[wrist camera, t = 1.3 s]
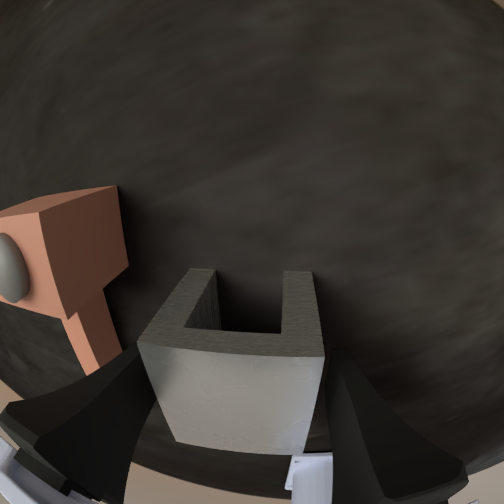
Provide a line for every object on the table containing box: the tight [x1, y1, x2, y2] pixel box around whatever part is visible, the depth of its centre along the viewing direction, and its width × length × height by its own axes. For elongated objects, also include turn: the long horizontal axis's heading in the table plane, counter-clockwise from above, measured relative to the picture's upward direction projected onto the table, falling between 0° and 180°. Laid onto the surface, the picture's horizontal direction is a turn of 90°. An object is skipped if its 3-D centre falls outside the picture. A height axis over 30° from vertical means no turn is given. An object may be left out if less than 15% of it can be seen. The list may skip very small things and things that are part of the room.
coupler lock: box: [137, 268, 325, 455], centre depth 11 cm, size 6×5×5 cm
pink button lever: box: [0, 185, 129, 375], centre depth 12 cm, size 14×6×6 cm, turn 1°
